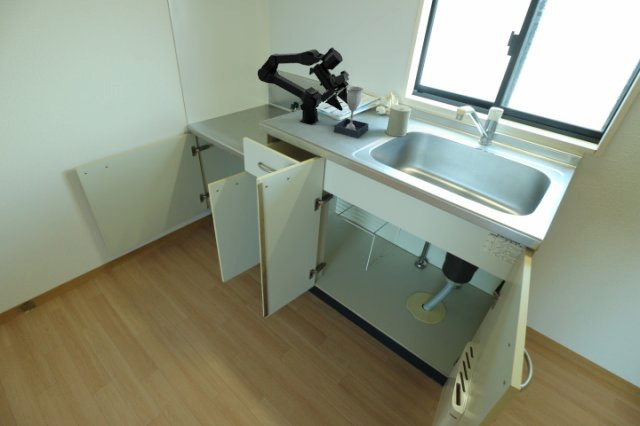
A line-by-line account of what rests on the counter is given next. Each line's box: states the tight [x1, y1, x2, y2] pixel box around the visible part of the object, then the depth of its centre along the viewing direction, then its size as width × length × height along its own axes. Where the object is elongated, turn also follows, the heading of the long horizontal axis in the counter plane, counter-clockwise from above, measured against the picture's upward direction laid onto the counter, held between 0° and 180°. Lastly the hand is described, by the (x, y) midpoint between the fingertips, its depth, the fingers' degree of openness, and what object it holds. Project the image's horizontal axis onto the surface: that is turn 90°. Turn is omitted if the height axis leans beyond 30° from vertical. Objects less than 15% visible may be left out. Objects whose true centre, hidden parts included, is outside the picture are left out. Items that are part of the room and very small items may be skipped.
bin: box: [333, 117, 370, 139], centre depth 147 cm, size 12×12×3 cm
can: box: [385, 104, 412, 138], centre depth 145 cm, size 9×9×12 cm
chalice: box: [346, 86, 364, 130], centre depth 143 cm, size 7×7×18 cm
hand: (346, 107), depth 143 cm, fingers open, 9 cm apart
